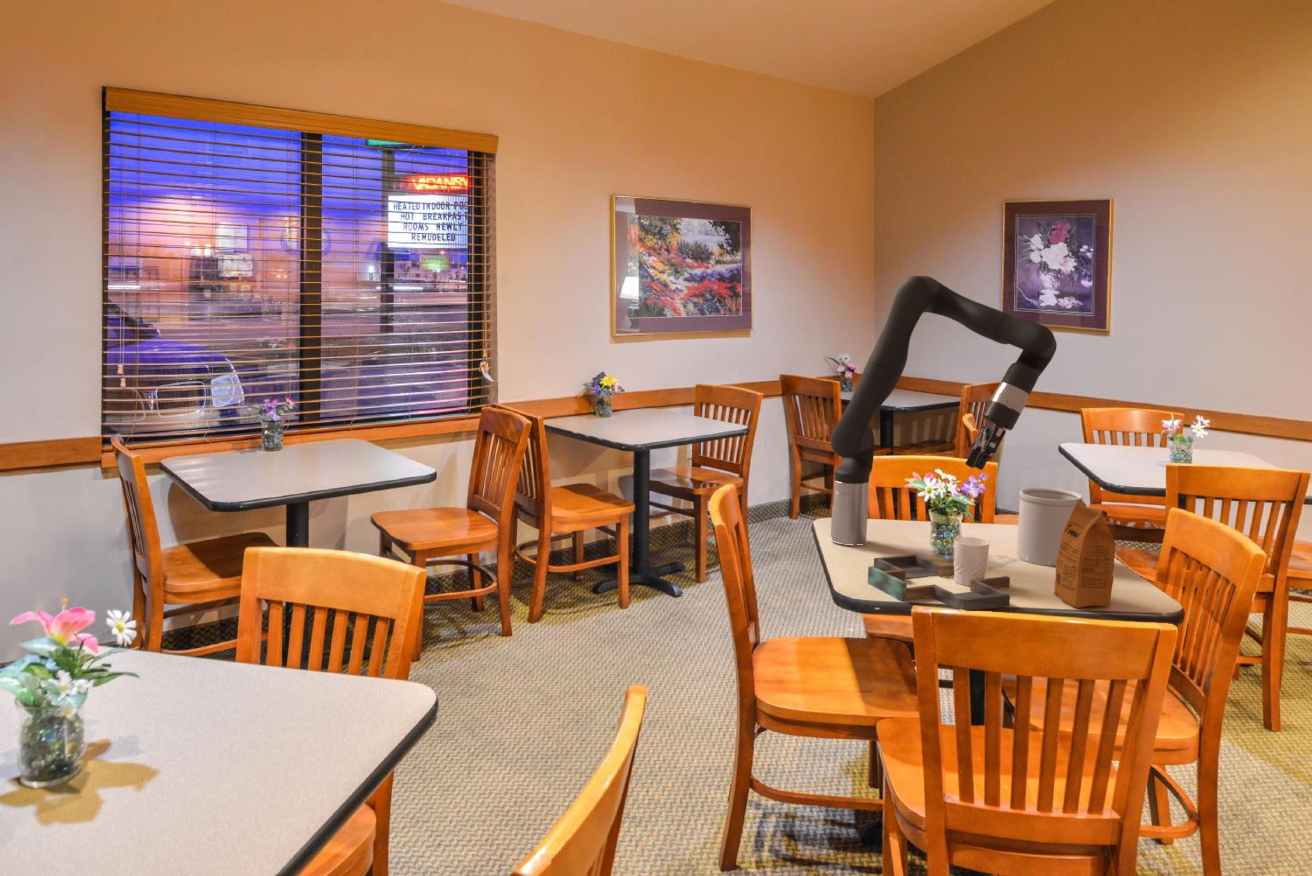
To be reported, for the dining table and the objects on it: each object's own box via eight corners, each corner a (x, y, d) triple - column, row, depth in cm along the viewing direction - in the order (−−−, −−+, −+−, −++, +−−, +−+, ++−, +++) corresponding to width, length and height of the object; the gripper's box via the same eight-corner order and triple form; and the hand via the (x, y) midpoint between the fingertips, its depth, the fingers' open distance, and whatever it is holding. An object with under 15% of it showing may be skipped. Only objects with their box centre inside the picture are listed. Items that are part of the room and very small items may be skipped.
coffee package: (1090, 592, 210) (1098, 498, 206) (1116, 610, 197) (1125, 511, 194) (1047, 591, 210) (1054, 497, 206) (1069, 609, 198) (1077, 510, 194)
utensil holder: (1087, 568, 229) (1093, 499, 226) (1027, 567, 229) (1032, 498, 226) (1062, 551, 243) (1067, 487, 241) (1006, 550, 244) (1010, 486, 241)
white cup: (964, 588, 211) (966, 546, 210) (944, 578, 219) (947, 538, 217) (993, 586, 213) (996, 544, 212) (973, 576, 221) (976, 536, 219)
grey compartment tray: (844, 571, 224) (845, 555, 223) (944, 560, 234) (945, 545, 233) (929, 616, 192) (930, 597, 192) (1041, 601, 202) (1042, 584, 202)
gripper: (983, 399, 222) (952, 459, 223) (998, 398, 208) (965, 461, 209) (1012, 413, 221) (980, 473, 223) (1029, 412, 207) (995, 476, 208)
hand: (973, 467), depth 216 cm, fingers open, 8 cm apart
